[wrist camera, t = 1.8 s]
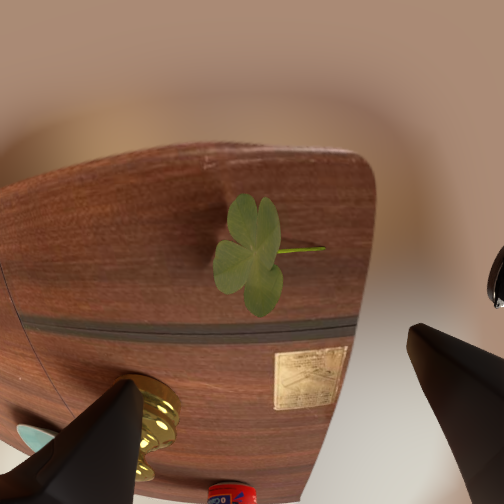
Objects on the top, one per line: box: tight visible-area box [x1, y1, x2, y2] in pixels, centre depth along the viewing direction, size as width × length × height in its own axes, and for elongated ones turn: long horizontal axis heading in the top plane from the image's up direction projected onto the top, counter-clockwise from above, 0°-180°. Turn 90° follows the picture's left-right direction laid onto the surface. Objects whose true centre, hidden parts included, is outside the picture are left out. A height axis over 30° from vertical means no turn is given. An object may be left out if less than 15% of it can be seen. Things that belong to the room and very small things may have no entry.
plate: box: [17, 424, 59, 453], centre depth 30 cm, size 22×22×3 cm
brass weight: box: [112, 374, 181, 482], centre depth 19 cm, size 7×7×10 cm
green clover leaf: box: [213, 194, 325, 317], centre depth 17 cm, size 7×8×7 cm
